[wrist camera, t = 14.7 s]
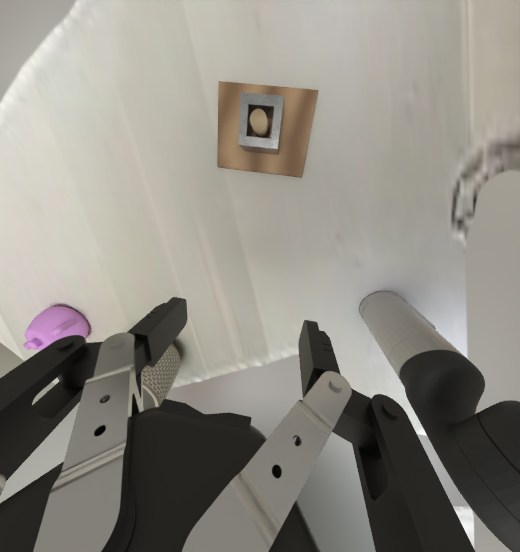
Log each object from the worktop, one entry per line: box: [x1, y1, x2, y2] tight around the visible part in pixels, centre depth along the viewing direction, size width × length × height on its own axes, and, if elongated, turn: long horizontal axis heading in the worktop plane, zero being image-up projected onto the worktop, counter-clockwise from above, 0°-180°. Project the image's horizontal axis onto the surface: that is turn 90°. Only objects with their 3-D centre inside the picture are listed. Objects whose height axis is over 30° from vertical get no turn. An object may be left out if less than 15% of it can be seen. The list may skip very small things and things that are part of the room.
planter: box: [142, 342, 181, 410], centre depth 51 cm, size 17×17×16 cm
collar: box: [238, 92, 284, 155], centre depth 29 cm, size 6×6×5 cm
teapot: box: [23, 306, 89, 350], centre depth 55 cm, size 14×20×11 cm
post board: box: [218, 81, 318, 177], centre depth 29 cm, size 16×12×7 cm
